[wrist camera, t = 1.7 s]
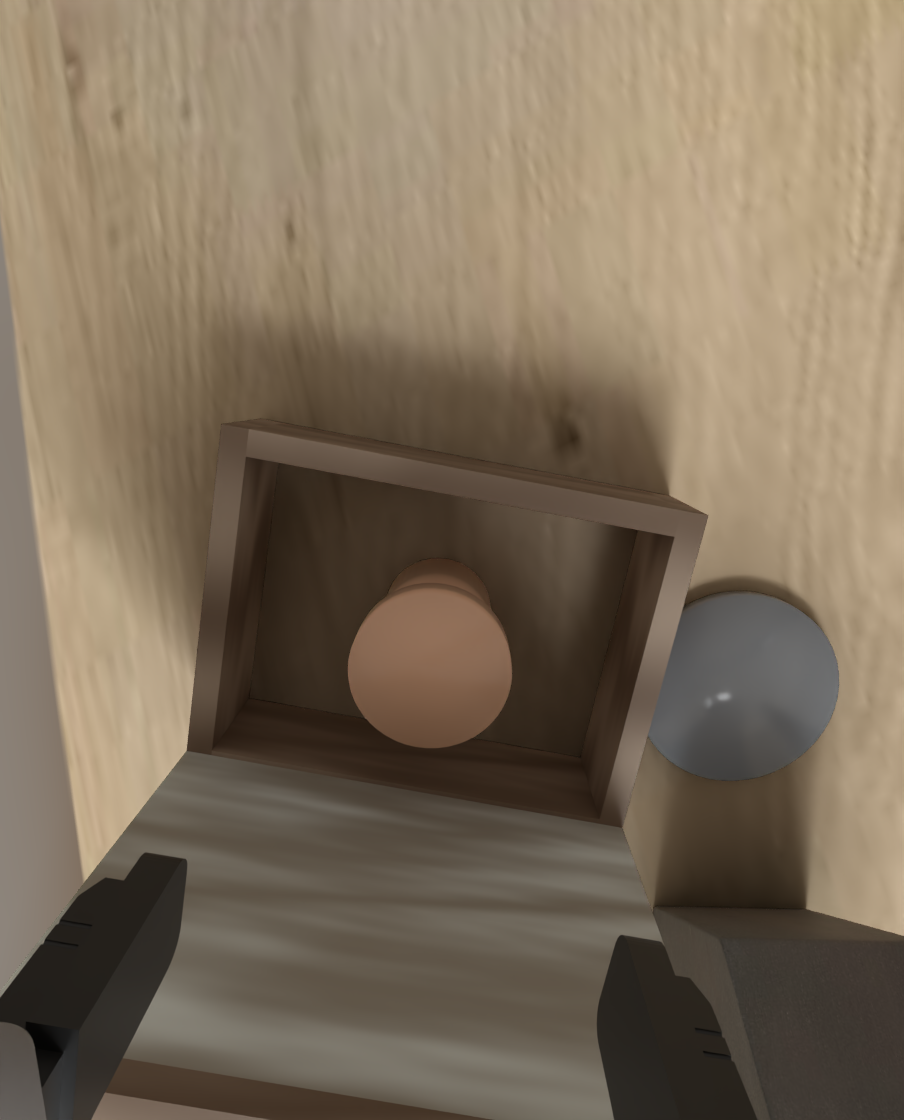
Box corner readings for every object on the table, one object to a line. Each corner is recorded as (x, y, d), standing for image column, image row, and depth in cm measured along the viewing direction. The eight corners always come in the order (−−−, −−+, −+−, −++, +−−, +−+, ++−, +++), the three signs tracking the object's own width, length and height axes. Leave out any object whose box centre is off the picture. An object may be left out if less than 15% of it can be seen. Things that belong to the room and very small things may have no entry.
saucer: (660, 574, 31) (665, 579, 31) (856, 610, 32) (866, 616, 31) (613, 753, 34) (617, 762, 33) (796, 786, 34) (804, 796, 33)
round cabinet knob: (385, 536, 31) (360, 580, 24) (513, 560, 31) (527, 610, 24) (365, 656, 33) (336, 732, 25) (488, 678, 33) (494, 760, 26)
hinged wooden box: (261, 418, 30) (-54, 460, 12) (669, 495, 31) (970, 650, 12) (225, 717, 34) (-64, 1108, 15) (595, 783, 34) (744, 1241, 16)
